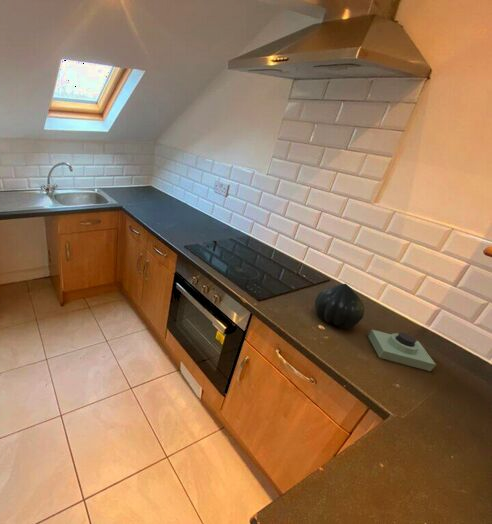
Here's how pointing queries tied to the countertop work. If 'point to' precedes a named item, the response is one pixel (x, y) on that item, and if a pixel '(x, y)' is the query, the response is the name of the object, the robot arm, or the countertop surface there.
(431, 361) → the knob plate
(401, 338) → the button
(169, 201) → the countertop surface
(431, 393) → the countertop surface
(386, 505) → the countertop surface
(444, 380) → the countertop surface
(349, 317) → the squash
